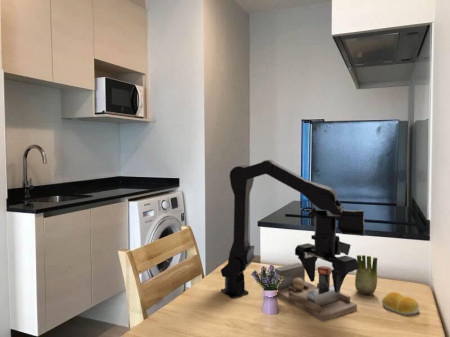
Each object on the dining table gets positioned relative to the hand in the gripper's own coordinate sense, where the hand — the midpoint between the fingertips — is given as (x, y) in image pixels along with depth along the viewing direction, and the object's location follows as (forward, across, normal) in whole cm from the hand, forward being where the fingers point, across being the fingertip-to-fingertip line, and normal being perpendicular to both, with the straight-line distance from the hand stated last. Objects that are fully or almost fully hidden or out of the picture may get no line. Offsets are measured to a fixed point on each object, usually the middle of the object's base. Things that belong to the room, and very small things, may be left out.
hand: (324, 286), depth 104 cm
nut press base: (+6, +4, 0) cm, 7 cm away
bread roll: (+6, -12, -18) cm, 22 cm away
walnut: (+3, +10, 0) cm, 11 cm away
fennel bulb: (+6, 0, -18) cm, 19 cm away
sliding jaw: (+4, 0, 0) cm, 4 cm away
